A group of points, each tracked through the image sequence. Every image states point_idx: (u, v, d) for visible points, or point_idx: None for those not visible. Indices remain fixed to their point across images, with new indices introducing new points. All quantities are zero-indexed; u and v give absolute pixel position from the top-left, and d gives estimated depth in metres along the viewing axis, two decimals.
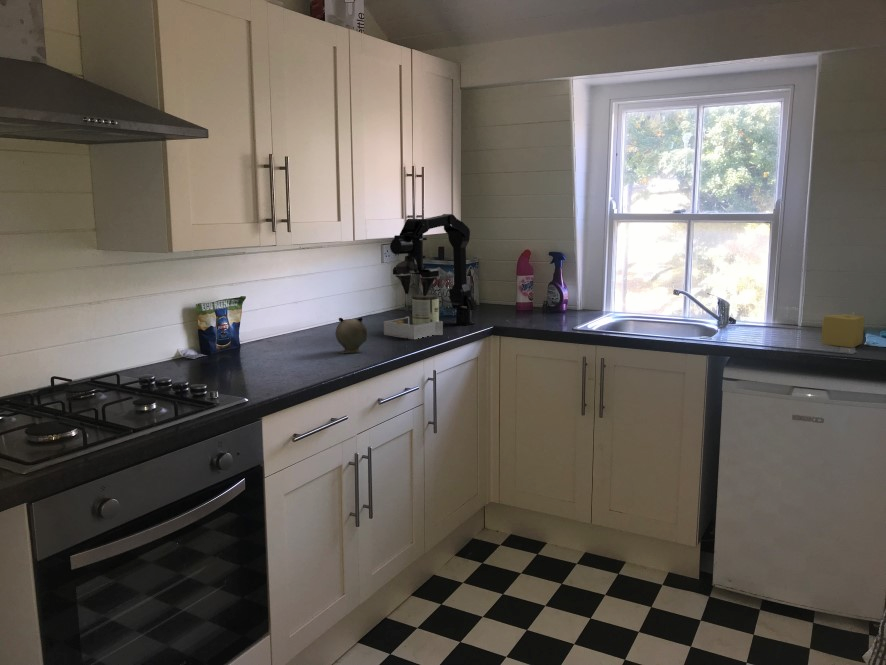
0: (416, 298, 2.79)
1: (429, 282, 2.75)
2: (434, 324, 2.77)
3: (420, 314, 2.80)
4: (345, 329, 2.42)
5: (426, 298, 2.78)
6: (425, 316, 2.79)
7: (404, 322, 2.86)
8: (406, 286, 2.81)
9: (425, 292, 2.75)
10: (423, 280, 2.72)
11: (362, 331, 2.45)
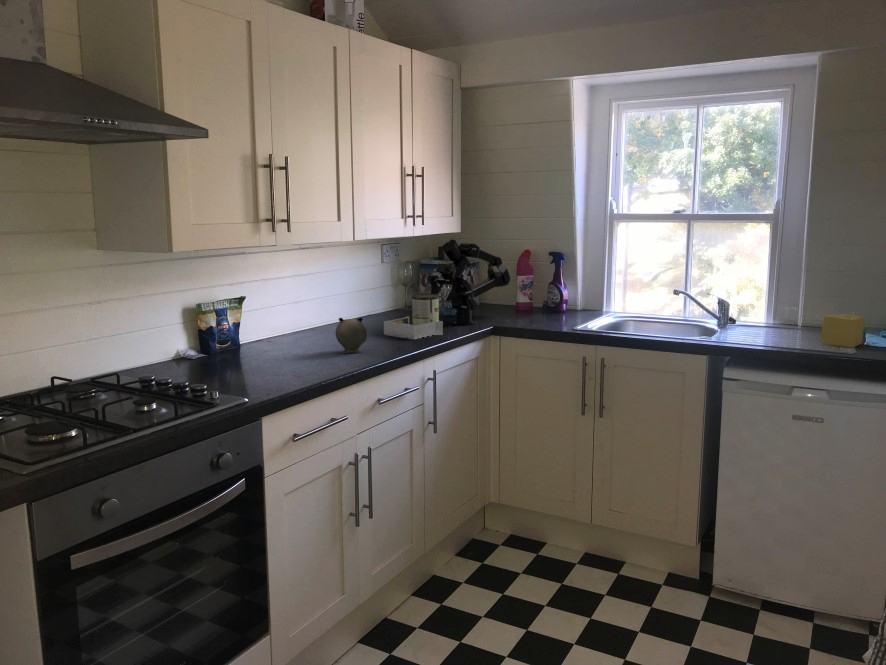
0: (416, 298, 2.79)
1: (456, 292, 2.88)
2: (434, 324, 2.77)
3: (420, 314, 2.80)
4: (345, 329, 2.42)
5: (426, 298, 2.78)
6: (425, 316, 2.79)
7: (404, 322, 2.86)
8: (433, 293, 2.93)
9: (449, 297, 2.86)
10: (454, 285, 2.86)
11: (362, 331, 2.45)
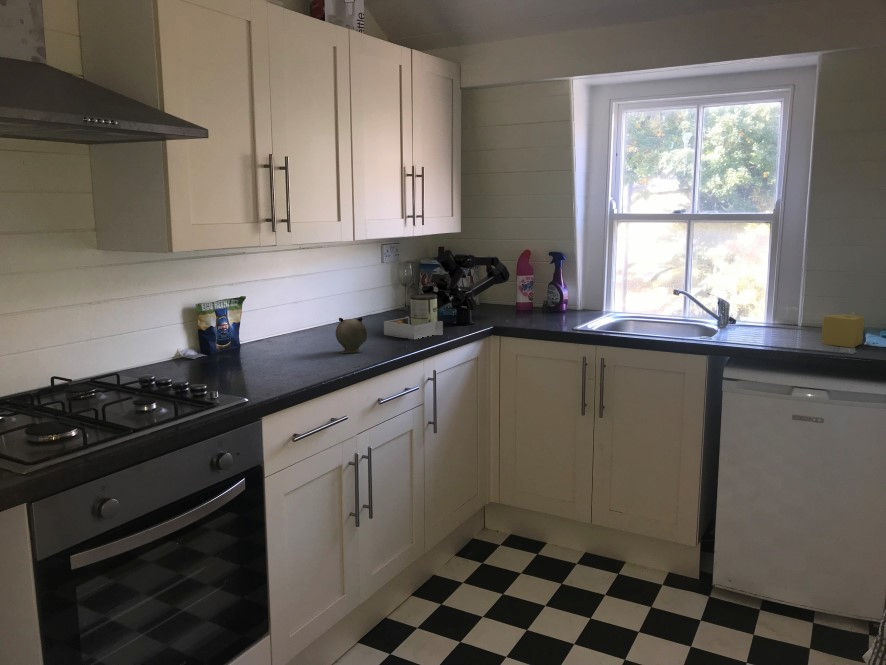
0: (414, 298, 2.79)
1: (443, 302, 2.89)
2: (434, 324, 2.77)
3: (419, 314, 2.79)
4: (345, 329, 2.42)
5: (424, 298, 2.77)
6: (424, 316, 2.79)
7: (404, 322, 2.86)
8: None
9: None
10: (440, 295, 2.87)
11: (362, 331, 2.45)
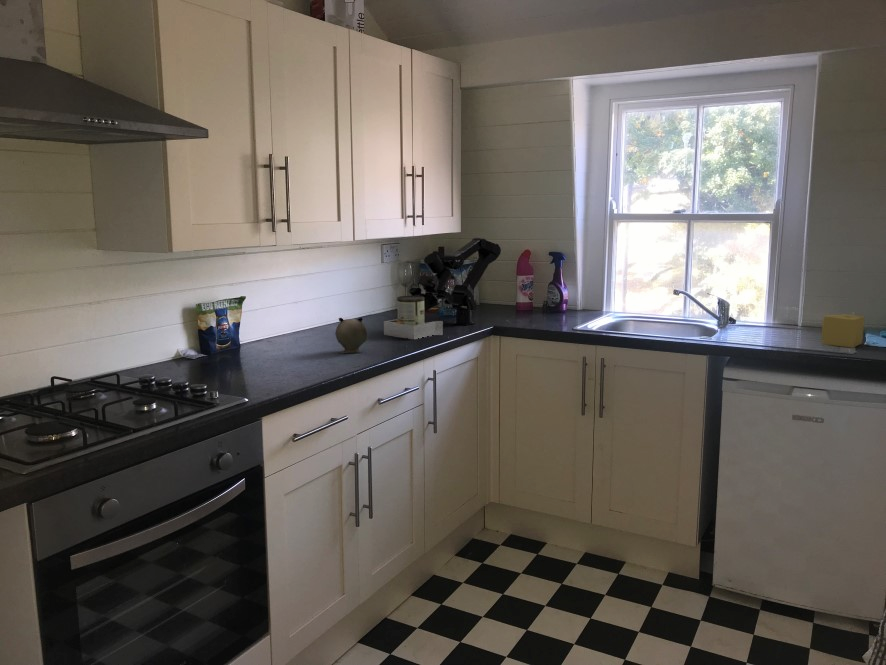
0: (401, 300, 2.73)
1: (431, 304, 2.84)
2: (434, 324, 2.77)
3: (406, 317, 2.74)
4: (345, 329, 2.42)
5: (411, 300, 2.72)
6: (411, 318, 2.73)
7: None
8: None
9: None
10: (428, 297, 2.82)
11: (362, 331, 2.45)
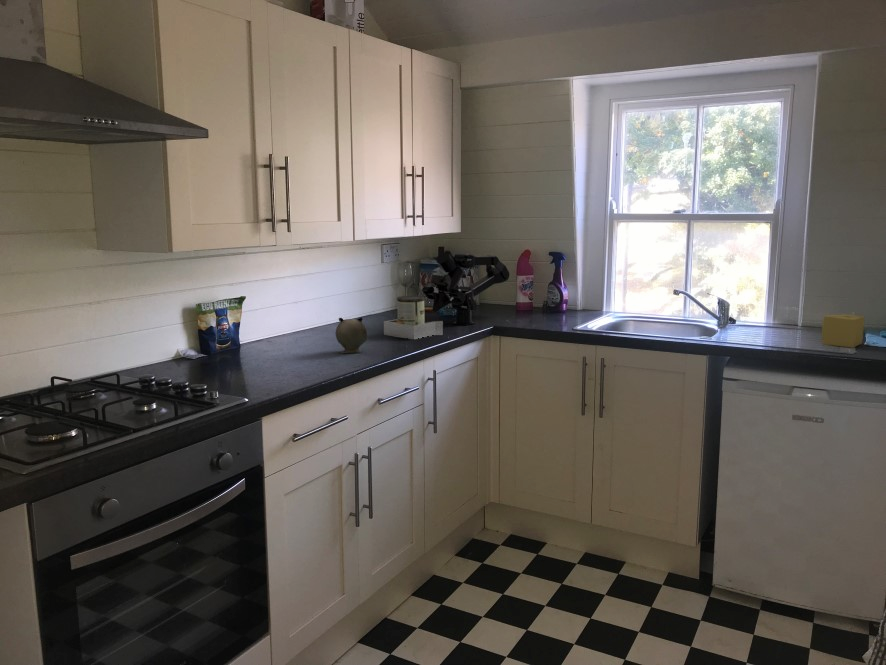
0: (401, 300, 2.73)
1: (443, 303, 2.89)
2: (434, 324, 2.77)
3: (406, 317, 2.74)
4: (345, 329, 2.42)
5: (411, 300, 2.72)
6: (411, 318, 2.73)
7: None
8: None
9: (436, 308, 2.88)
10: (441, 296, 2.87)
11: (362, 331, 2.45)
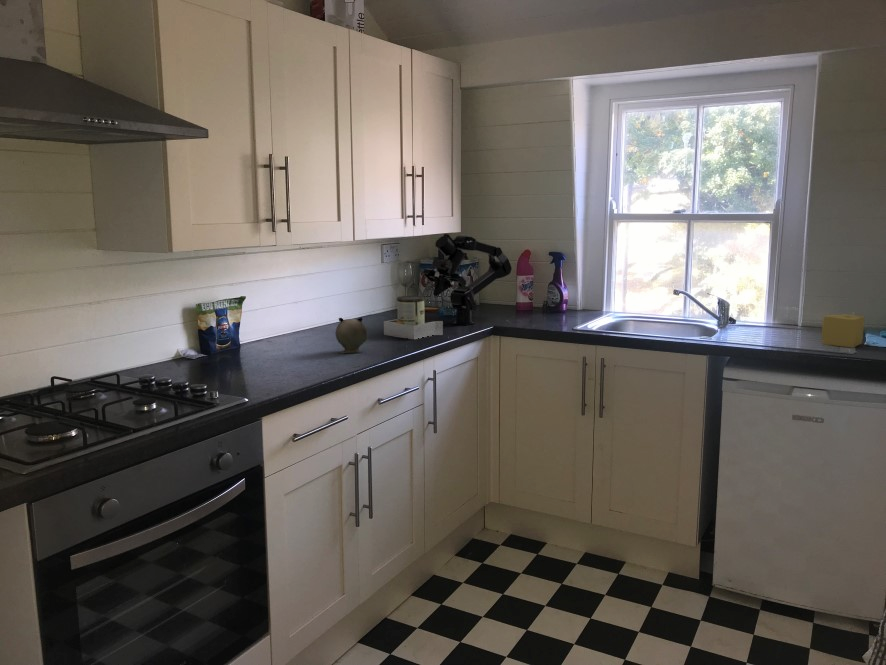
0: (401, 300, 2.73)
1: (444, 287, 2.90)
2: (434, 324, 2.77)
3: (406, 317, 2.74)
4: (345, 329, 2.42)
5: (411, 300, 2.72)
6: (411, 318, 2.73)
7: None
8: None
9: (437, 292, 2.89)
10: (442, 280, 2.88)
11: (362, 331, 2.45)
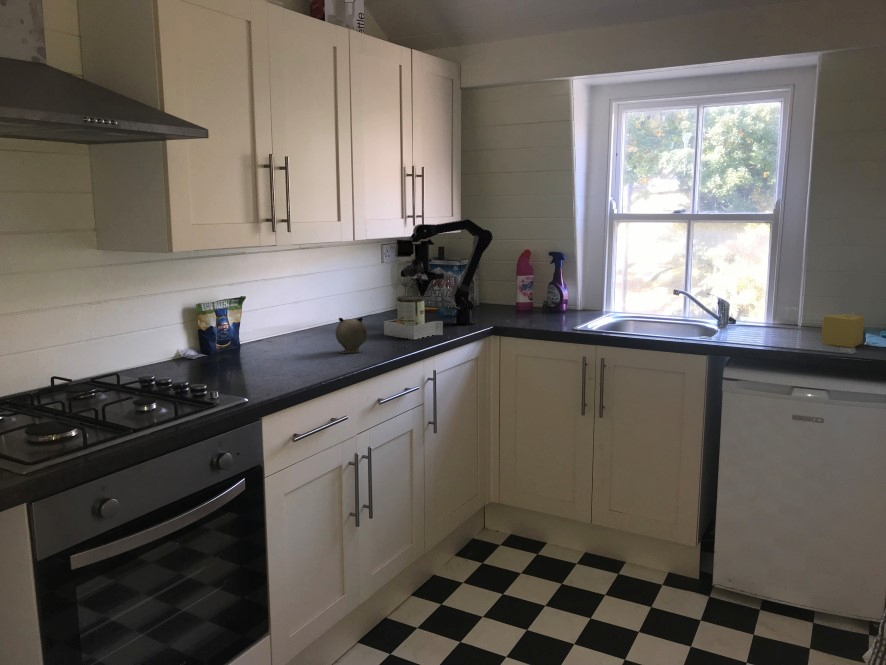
0: (401, 300, 2.73)
1: (426, 283, 2.95)
2: (434, 324, 2.77)
3: (406, 317, 2.74)
4: (345, 329, 2.42)
5: (411, 300, 2.72)
6: (411, 318, 2.73)
7: None
8: None
9: (423, 292, 2.96)
10: (421, 281, 2.93)
11: (362, 331, 2.45)
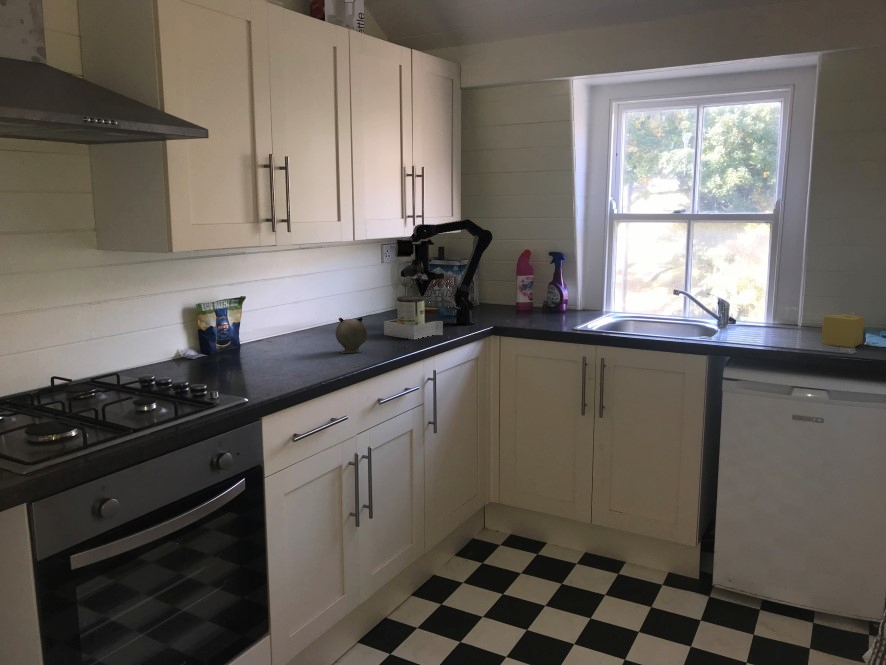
0: (401, 300, 2.73)
1: (426, 283, 2.95)
2: (434, 324, 2.77)
3: (406, 317, 2.74)
4: (345, 329, 2.42)
5: (411, 300, 2.72)
6: (411, 318, 2.73)
7: None
8: None
9: (423, 292, 2.96)
10: (421, 281, 2.93)
11: (362, 331, 2.45)
